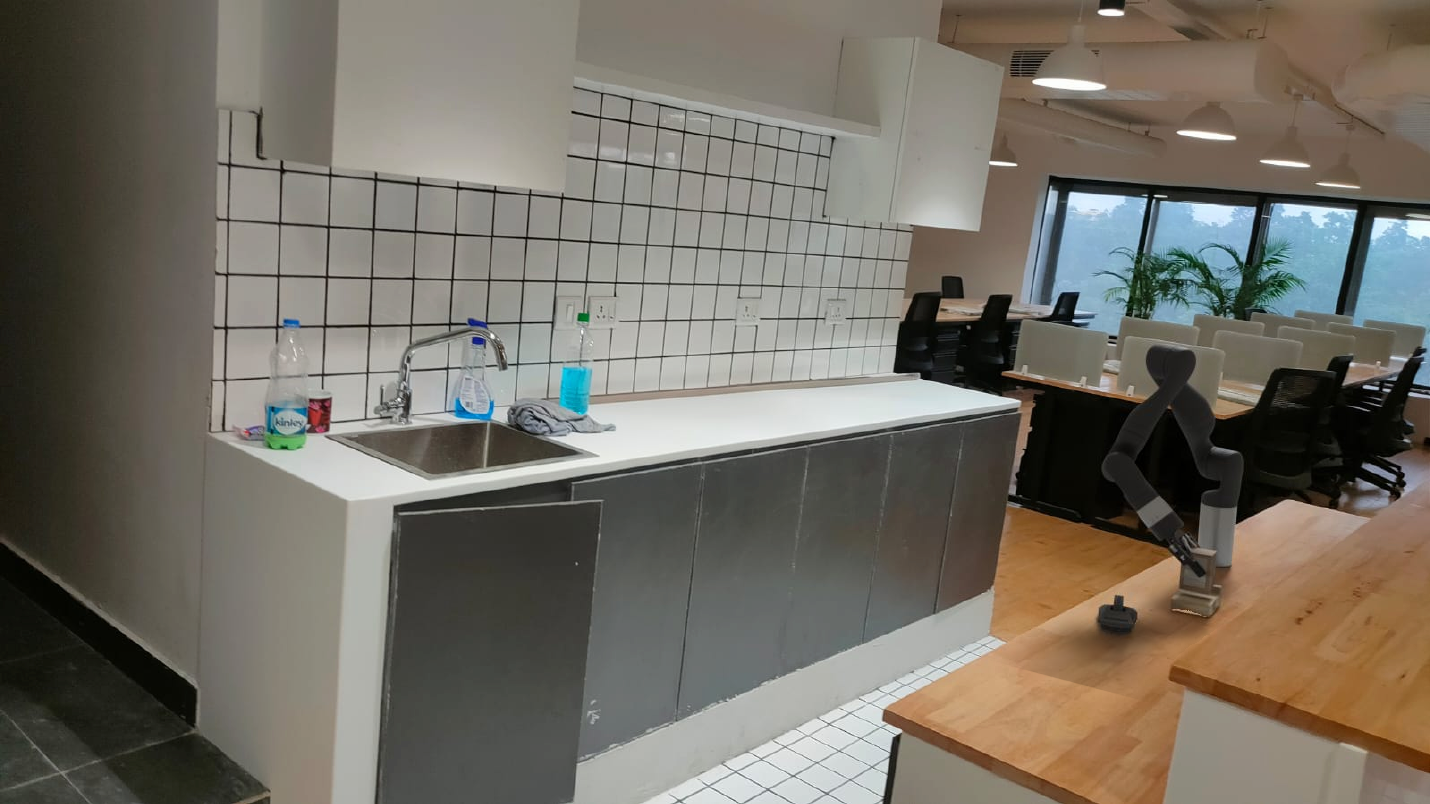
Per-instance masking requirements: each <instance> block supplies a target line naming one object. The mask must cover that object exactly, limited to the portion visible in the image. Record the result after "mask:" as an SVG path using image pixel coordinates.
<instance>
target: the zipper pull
mask: <svg viewBox="0 0 1430 804" xmlns="http://www.w3.org/2000/svg"><path fill="white" fill-rule="evenodd" d="M1124 600H1125V597H1124V595H1118V594H1114V599H1113V604H1110V603H1109V604H1106V603H1105V604H1102V605H1100V606H1099V607H1098V614H1097V615H1098V619H1096V623H1097V624H1099V626H1100V630H1101V631H1103V632H1105V633H1108V634H1113V635H1121V636H1122V635H1131V633H1132V632H1133V630H1134V628H1135V626H1134V625H1136V624H1137V622H1136V620H1137V621H1138V613H1139V612H1138V611H1137V610H1136V609H1135V608H1134V607H1129V606H1125V605H1124ZM1135 623H1136V624H1135ZM1133 627H1134V628H1133ZM1132 629H1133V630H1132Z"/></svg>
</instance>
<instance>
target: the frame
mask: <svg viewBox="0 0 1430 804" xmlns="http://www.w3.org/2000/svg"><path fill="white" fill-rule="evenodd" d="M1191 549H1192V551H1193V552H1191V554H1192V555H1193V556H1194V558H1195V559H1196V561H1197V562H1198V563H1199V564H1200V565H1201V566H1202V568H1203V569H1204V570H1205V571H1206V574H1205V575H1204V576H1202V577H1200V578H1199V577H1198V576H1197V575H1196V574H1195V573H1194V572H1193V570H1192V569H1191V568H1190V567H1189V566H1187V565H1185V566H1184V565H1182V564H1181V563H1180V572H1179V580H1178V581H1179V582H1178V589H1179V590H1180V589H1184V590H1189V591H1194V592H1198V593H1203V594H1208V595H1209V593H1210V592H1211V591H1212V590H1213V587H1214V585H1215V576H1216V575H1215V573H1216V567H1215V566H1216V555H1217V551H1213V550H1207V549H1202V548H1193V547H1191ZM1186 551H1187V550H1186ZM1186 551H1185V552H1186ZM1185 558H1186V557H1185ZM1182 560H1183V559H1182ZM1196 561H1195V562H1196Z"/></svg>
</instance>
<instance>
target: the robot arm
mask: <svg viewBox="0 0 1430 804" xmlns="http://www.w3.org/2000/svg"><path fill="white" fill-rule="evenodd" d="M1196 365H1197V357H1196V353H1195V352H1194V351H1193V349H1191V348H1187V347H1183V346H1178V345H1173V344H1169V343H1156V344H1154V345H1152V346H1150V347H1149V348H1148V350H1147V353H1146V356H1145V366H1146V370H1147V373H1148V374H1149V376H1150V377H1151V378H1152V380H1153V382H1154V383H1155V385H1156V386H1157V387H1158V389H1157V390H1155V392H1153V394H1151V395H1150V396H1149V397H1147V398H1146V399H1145V400H1143V401H1142V402H1140V403H1139V404H1138V405H1136V406H1135V408H1134V409H1133V410H1131V412H1130V413H1129V415H1128V416H1127V417H1126V419H1125V421H1124V423H1123V425H1122V427H1121V428H1120V430H1119V433H1118V435H1117V438H1116V440H1115V441H1114V444H1113V445H1112V446H1111V448H1110V450H1109V451H1108V453H1107V455H1106V456H1105V458H1104V459H1103V462H1102V464H1101V473H1102V475H1103V477H1104V478H1105V479H1106V480H1107V481H1109V482H1113V483H1116V486H1118V487H1119V489H1120V490H1121V491H1122V493H1123V496H1124V498H1125V499H1126V501H1127V502H1128V504H1129V505H1130V506H1131V507H1132V509H1133V510H1134V511H1135V512H1136V514H1137V515H1138V517H1139V518H1140V520H1141V521H1142V522H1143V523H1144V525H1145V526H1146V527H1147V529H1149V530H1150V531H1151V533H1152V534H1153V536H1155V538H1156V539H1157V540H1158V541H1159V542H1161V541H1164V540H1166V541H1167V542H1168V544H1169V546H1167V551H1169V553H1171V555H1172V556H1173V557H1174V558H1175V559H1176V560H1178V562H1180V565H1181V564H1182V565H1184V566H1185V565H1187V566H1189V567H1190V568H1191V569H1192V570H1193V572H1194V573H1195V574H1196V575H1197V576H1198V577H1199V578H1200V577H1202V576H1204V575H1205V574H1206V571H1205V570H1204V569H1203V568H1202V566H1201V565H1200V564H1199V563H1198V562H1197V561H1196V559H1195V558H1194V556H1193V555H1192V554H1191V552H1193V551H1192V549H1191V547H1193V548H1202V549H1207V550H1213V551H1217V555H1216V566H1215V568H1216V567H1217V568H1219V567H1220V568H1225V567H1226V568H1227V567H1231V566H1232V565H1233V564H1232V563H1233V554H1234V544H1235V534H1236V521H1237V519H1236V518H1237V510H1238V509H1237V508H1238V501H1239V497H1240V495H1241V494H1240V492H1241V487H1242V480H1243V475H1244V465H1245V463H1244V457H1243V455H1242V453H1241V452H1240V451H1236V450H1234V449H1233V450H1231V449H1227V448H1222V447H1217V446H1215V445H1214V444H1213V442H1211V439H1210V436H1211V434H1212V433H1213V430H1214V428H1215V426H1216V416H1215V414H1214V412H1213V410H1212V409H1213V408H1212V407H1211V405H1210V403H1209V402H1208V400H1207V398H1206V397H1205V396H1204V395H1203V394H1202V393H1201V392H1200V391H1198V390H1197V389H1196V388H1195V387H1194V386H1193V385H1191V384H1190V383H1189V382H1188V381H1189V379H1190V378H1191V377H1192V375H1193V373H1194V372H1195V371H1194V370H1195V369H1196ZM1169 407H1170V410H1171V411H1172V413H1173V415H1174V418H1175V420H1176V422H1177V424H1178V426H1179V427H1180V429H1181V431H1182V433H1183V435H1184V437H1185V439H1186V441H1187V443H1188V446H1189V448H1190V451H1191V453H1192V457H1193V458H1194V464H1195V465H1196V468H1197V471H1198V472H1199V474H1200V475H1201V476H1202V477H1204V478H1206V479H1209V480H1213V481H1217V482H1218V481H1219V482H1220V485H1219V488H1218V489H1213V490H1207V491H1204V492H1203V493H1202V495H1201V500H1200V514H1199V525H1198V526H1199V527H1198V539H1197V540H1196V539H1195V537H1194V535H1192V533H1191V532H1190V531H1187V532H1184V531H1183V530H1182V529H1181V528H1182V527H1183V526H1184V525H1185V523H1184V521H1183V520H1182V519H1181V518H1180V516H1179V515H1178V514H1177V513H1176V512H1175V511H1174V510H1173V509H1172V507H1170V505H1169V503H1167V501H1166V500H1165V499H1163V498H1162V497H1161V496H1160V494H1159V493H1158V492H1157V491H1156V490H1155V489H1154V487H1153V486H1152V485H1151V484H1150V483H1149V482H1148V481H1147V479H1146V478H1145V477H1144V475H1143V473H1142V471H1141V470H1140V469H1139V467H1138V466H1137V464H1136V459H1137V457H1138V455H1139V454H1140V452H1141V451H1142V450H1143V449H1144V447H1145V445H1146V444H1147V441H1149V438H1150V436H1151V434H1152V433H1153V431H1154V429H1155V426H1156V425H1157V423H1158V421H1159V420H1160V418H1161V417H1162V415H1163V414H1164V413H1165V411H1166V410H1167V409H1168V408H1169ZM1186 550H1187V551H1186ZM1185 551H1186V552H1185ZM1185 557H1186V558H1185ZM1182 559H1183V560H1182ZM1195 561H1196V562H1195Z"/></svg>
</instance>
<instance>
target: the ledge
mask: <svg viewBox="0 0 1430 804" xmlns="http://www.w3.org/2000/svg"><path fill="white" fill-rule="evenodd" d="M1222 587H1223V586H1222V585H1219V584H1214V587H1213V590H1212V591H1211V592H1210V593H1209V595H1208V594H1203V593H1198V592H1194V591H1189V590H1184V589H1179V590H1178V591H1177V592H1176V593H1175V594H1174V595H1173V596H1171V598H1170V609H1180V610H1187V611H1188V610H1189V611H1192V612H1194V613H1198V614H1201V615H1202V616H1206V617H1209V616H1210V615H1211V616H1212V615H1213V614H1214V613H1215V611H1216V610H1217V609H1218V607H1220V605H1221V598H1222V597H1221V596H1222ZM1170 609H1169V610H1170ZM1211 616H1210V617H1211ZM1210 617H1209V618H1210Z"/></svg>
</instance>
